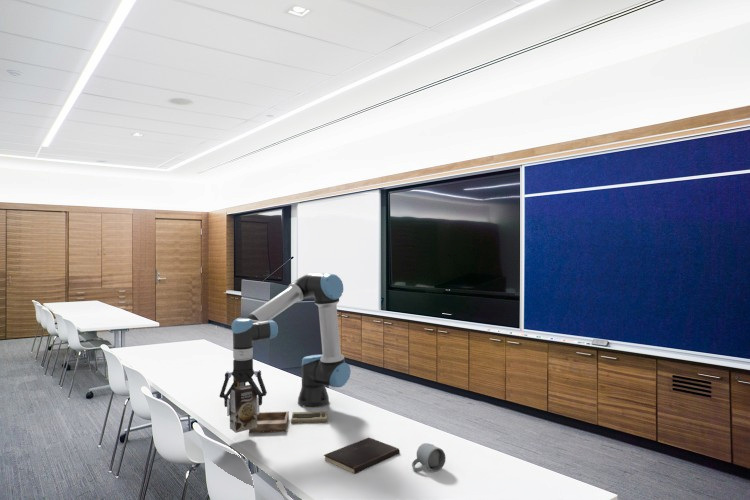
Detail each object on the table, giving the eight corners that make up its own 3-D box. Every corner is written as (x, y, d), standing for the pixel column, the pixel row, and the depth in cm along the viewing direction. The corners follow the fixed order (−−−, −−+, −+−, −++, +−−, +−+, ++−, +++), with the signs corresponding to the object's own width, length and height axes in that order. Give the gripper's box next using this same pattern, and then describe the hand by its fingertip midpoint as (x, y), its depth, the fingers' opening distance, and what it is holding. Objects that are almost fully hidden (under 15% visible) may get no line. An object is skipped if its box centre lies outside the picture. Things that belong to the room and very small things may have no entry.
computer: (290, 424, 207) (291, 417, 207) (292, 418, 215) (292, 410, 215) (327, 423, 208) (327, 416, 208) (327, 417, 216) (327, 410, 216)
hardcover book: (323, 461, 171) (323, 454, 171) (368, 443, 187) (368, 437, 187) (354, 475, 160) (354, 468, 160) (399, 455, 176) (399, 448, 176)
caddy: (288, 419, 212) (288, 411, 212) (286, 431, 198) (286, 423, 198) (254, 420, 211) (254, 412, 211) (248, 433, 196) (249, 424, 196)
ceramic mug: (432, 460, 171) (431, 438, 171) (446, 469, 163) (445, 446, 163) (407, 467, 165) (406, 444, 165) (420, 476, 158) (420, 453, 158)
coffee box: (236, 433, 184) (235, 391, 184) (229, 428, 189) (228, 387, 189) (257, 427, 190) (257, 387, 190) (250, 423, 195) (250, 383, 195)
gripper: (210, 361, 185) (211, 418, 185) (271, 359, 187) (272, 416, 187) (215, 357, 192) (215, 412, 192) (273, 355, 195) (274, 409, 195)
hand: (243, 414), depth 190 cm, fingers closed on coffee box, 11 cm apart
